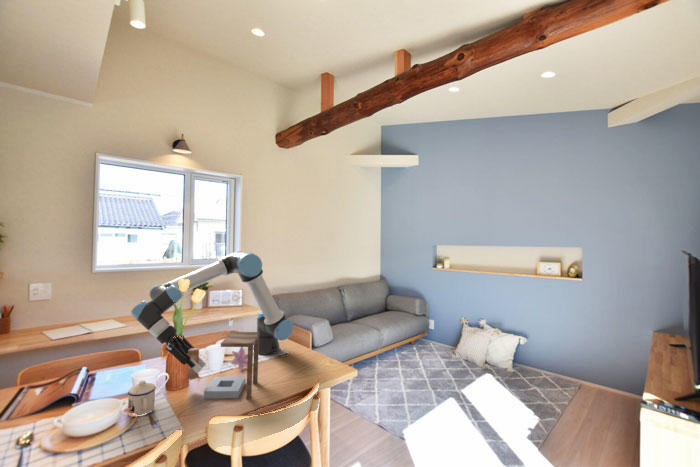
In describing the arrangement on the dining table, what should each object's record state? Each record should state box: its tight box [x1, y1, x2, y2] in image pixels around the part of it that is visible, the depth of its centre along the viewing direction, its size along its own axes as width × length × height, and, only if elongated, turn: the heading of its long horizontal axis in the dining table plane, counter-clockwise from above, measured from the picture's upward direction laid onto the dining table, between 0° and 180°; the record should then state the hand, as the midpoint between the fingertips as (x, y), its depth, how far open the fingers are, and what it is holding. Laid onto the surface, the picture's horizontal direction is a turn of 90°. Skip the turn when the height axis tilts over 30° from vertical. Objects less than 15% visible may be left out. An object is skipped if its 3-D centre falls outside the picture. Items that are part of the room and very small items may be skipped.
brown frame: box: [220, 331, 259, 400], centre depth 148 cm, size 16×13×24 cm
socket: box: [203, 376, 246, 399], centre depth 148 cm, size 14×14×3 cm
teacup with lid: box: [127, 380, 156, 415], centre depth 128 cm, size 12×9×12 cm
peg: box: [186, 347, 200, 380], centre depth 147 cm, size 4×4×12 cm
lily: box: [230, 347, 248, 373], centre depth 172 cm, size 12×12×10 cm
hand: (202, 368), depth 147 cm, fingers closed on peg, 4 cm apart
